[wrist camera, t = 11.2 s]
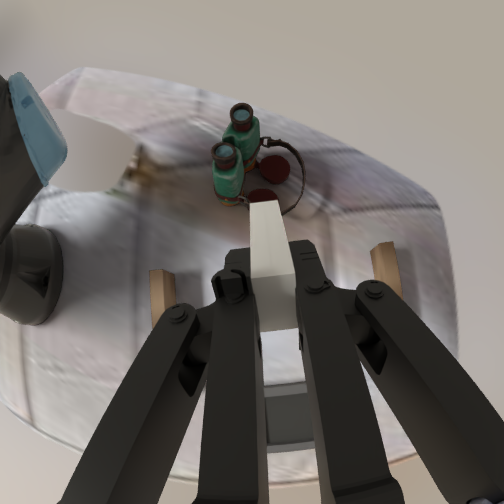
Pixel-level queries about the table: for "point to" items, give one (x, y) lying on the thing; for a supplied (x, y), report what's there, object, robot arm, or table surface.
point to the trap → (288, 418)
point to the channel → (165, 281)
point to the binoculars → (247, 161)
